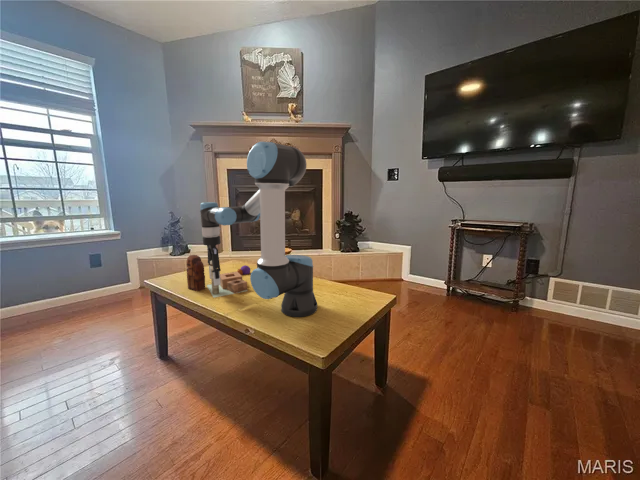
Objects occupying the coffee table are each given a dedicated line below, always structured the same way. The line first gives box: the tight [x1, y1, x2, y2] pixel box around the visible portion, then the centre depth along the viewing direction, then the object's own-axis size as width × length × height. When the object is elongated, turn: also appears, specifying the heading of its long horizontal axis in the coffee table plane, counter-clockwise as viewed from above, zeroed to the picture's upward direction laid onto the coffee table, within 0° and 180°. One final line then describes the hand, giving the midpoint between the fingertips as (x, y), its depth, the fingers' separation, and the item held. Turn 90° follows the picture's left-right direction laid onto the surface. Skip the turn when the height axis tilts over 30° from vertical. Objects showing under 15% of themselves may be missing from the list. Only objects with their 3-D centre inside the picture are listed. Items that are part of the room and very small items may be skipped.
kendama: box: [236, 265, 251, 276], centre depth 150 cm, size 6×6×20 cm
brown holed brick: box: [227, 279, 248, 294], centre depth 129 cm, size 7×7×4 cm
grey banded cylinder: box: [209, 261, 219, 295], centre depth 123 cm, size 3×3×16 cm
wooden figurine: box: [186, 254, 206, 292], centre depth 131 cm, size 12×6×18 cm, turn 56°
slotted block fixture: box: [206, 271, 248, 299], centre depth 131 cm, size 20×16×6 cm
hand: (215, 281), depth 123 cm, fingers open, 11 cm apart
